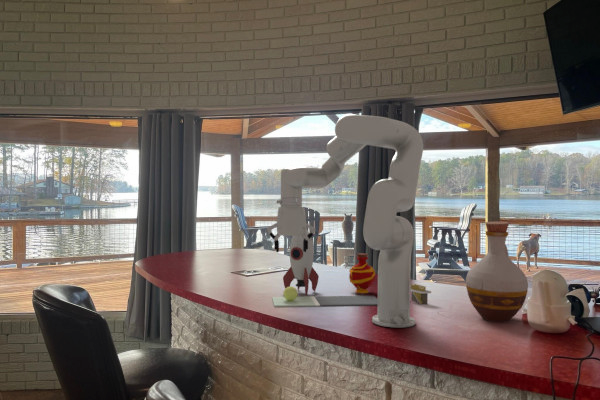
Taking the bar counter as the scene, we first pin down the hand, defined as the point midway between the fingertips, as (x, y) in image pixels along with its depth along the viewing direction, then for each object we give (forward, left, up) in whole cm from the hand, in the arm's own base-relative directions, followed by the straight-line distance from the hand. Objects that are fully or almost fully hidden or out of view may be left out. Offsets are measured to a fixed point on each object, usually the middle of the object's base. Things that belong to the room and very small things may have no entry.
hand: (291, 251), depth 169 cm
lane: (0, -13, -18) cm, 22 cm away
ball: (0, 0, -15) cm, 15 cm away
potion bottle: (+17, -30, -18) cm, 39 cm away
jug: (-27, -62, -18) cm, 70 cm away
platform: (-3, -45, -19) cm, 49 cm away
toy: (+17, -6, -18) cm, 26 cm away
